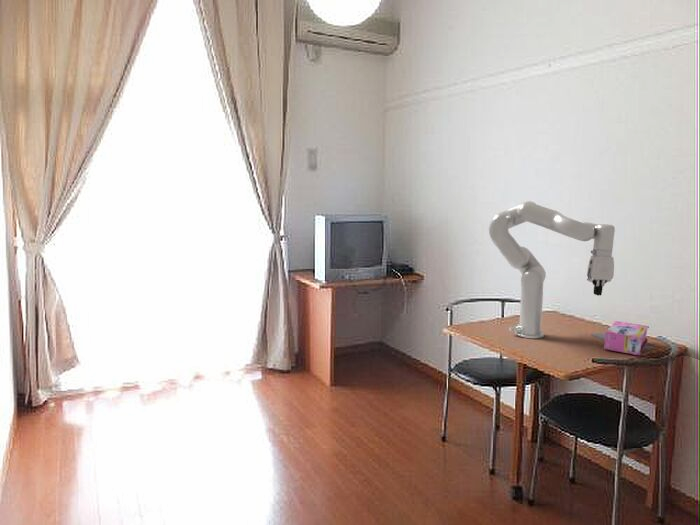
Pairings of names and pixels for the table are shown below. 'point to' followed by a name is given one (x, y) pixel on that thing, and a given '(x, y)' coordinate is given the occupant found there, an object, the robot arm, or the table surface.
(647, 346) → the mat
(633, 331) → the gum box
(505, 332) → the table surface
